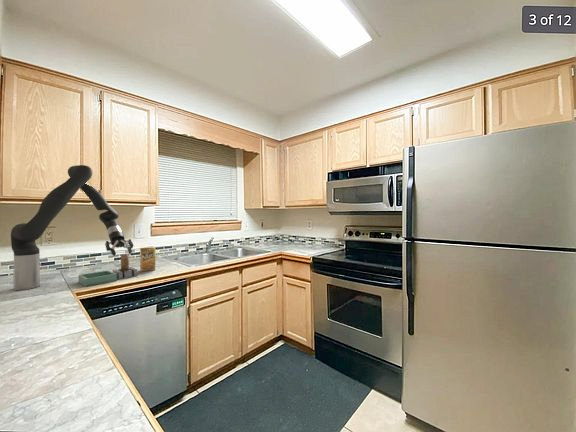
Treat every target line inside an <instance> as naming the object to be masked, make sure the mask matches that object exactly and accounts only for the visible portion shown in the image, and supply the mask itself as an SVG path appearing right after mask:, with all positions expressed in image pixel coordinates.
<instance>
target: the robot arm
mask: <svg viewBox="0 0 576 432" xmlns="http://www.w3.org/2000/svg"><path fill="white" fill-rule="evenodd" d="M67 175H68V177H69V178H68V179H67V180H66V181H65V182H62V183H61V184H60V185H58V186H56V187H55V188H54V189H52V190H51V191H50V192H48V194H46V196H45V197H44V198H43V199H42V201H41V203H40V205H39V209H38V211H37V213H36V214H35V215H34V216H33V217H32V218H31V219H30V220H29V221H28V222H25V223H24V222H23V223H19V224H15V225H14V226H13V227H12V229H11V231H10V245H11V250H12V252H13V272H12V273H13V277H12V278H13V290H14V291H24V290H30V289H34V288H39V287H40V286H41V270H40V268H41V266H40V265H41V262H40V260H41V259H40V256H41V255H40V248H39V247H38V245H37V243H36V241H37V240H38V239H40V238H41V237H42V235H43V234H44V232H45V231H46V230H47V228H48V227H49V225H50V224H51V222H52V221H53V220H54V219H55V218H56V217H57V216H58V215H59V213H60V212H61V211H62V210H63V209H65V207H66V205H68V203H70V201H71V199H73V197H74V196H75V195H76V193H77V192H78V191H79V190H80V189H81V191H82V192H83V191H84V192H85V193H84V192H83V193H84V194H85V195H86V196H87V197H89V198H88V199H89V200H90V202H91V203H92V205H93V206H94V207H95V208H96V210H97V211H103V212H101V213H100V214H98V219H99V220H100V222H102V223H103V225H104V226H105V229H106V231H107V236H108V239H109V240H106V241H105V244H104V245H105V249H106V252H111V256H114V257H115V256H117V255H116V254H117V252H116V250H115V249H116V248H118V249H119V248H124V249H126V250H127V251H128V255H130V254H132V252H133V250H132V249H133V248H134V247H135V246H134V243H133V241H132V239H130V238H129V239H127V240H126V239H125V236H124V234H123V230H122V228H121V227H120V224H119V221H117V219H118V218H119V216H120V215H119V213H118V211H117V210H115V209H114V208H113V207H112V206H111V205H110V204H109V203H108V202H107V200H106V199H105V197H104V195H102V194H101V192H100V191H99V190H97V189H96V188H95V187H94V186H93V185H92V186H93V187H94V188H93V187H92V186H89V185H87V184H85V183H86V182H87V181H88V182H89V181H90V179H91V178H92V177H93V170H92V167H90V166H88V165H84V164H79V165H78V164H77V165H72V166H70V167H69V168H68V169H67ZM110 245H111V246H112V247H111V246H110Z"/></svg>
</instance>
